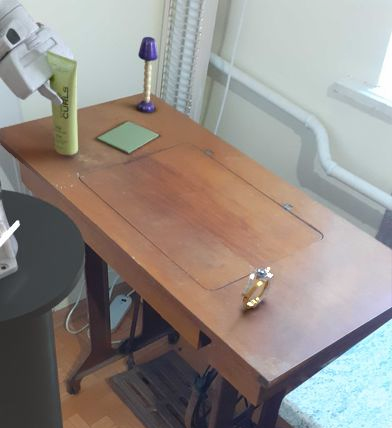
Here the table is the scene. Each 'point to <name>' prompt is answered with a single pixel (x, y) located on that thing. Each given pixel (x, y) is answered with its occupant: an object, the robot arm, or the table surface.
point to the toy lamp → (147, 71)
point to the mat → (128, 137)
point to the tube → (64, 103)
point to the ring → (267, 286)
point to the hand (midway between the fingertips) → (66, 98)
